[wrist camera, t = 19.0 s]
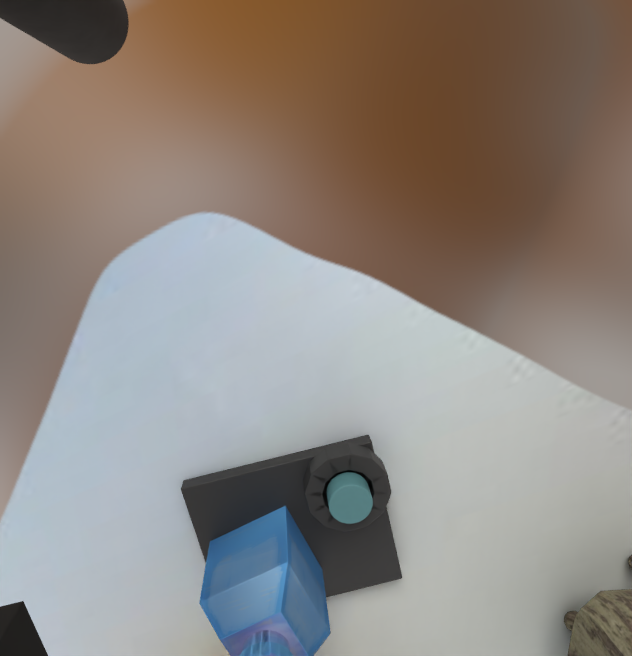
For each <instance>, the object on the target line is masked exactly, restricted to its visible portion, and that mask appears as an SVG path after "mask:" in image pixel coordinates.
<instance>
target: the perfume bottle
mask: <svg viewBox="0 0 632 656" xmlns="http://www.w3.org/2000/svg"><path fill="white" fill-rule="evenodd" d="M200 605H201V607H202V609H203V610H204V612H205V614H206V616H207V618H208V619H209V621H210V623H211V625H212V626H213V628H214V630H215V632H216V634H217V635H218V637H219V639H220V641H221V642H222V644H223V645H224V647H225V648H226V649H227V651H228V652H229V654H230V655H231V656H314V654H315V653H316V652H317V650H318V649H319V648H320V646H321V645H322V644H323V642H324V641H325V640H326V638H327V637H328V636H329V634H330V625H329V618H328V610H327V602H326V594H325V587H324V579H323V571H322V568H321V566H320V564H319V563H318V561H317V559H316V557H315V556H314V554H313V552H312V551H311V549H310V547H309V545H308V544H307V542H306V540H305V538H304V537H303V535H302V533H301V532H300V530H299V528H298V526H297V525H296V523H295V521H294V519H293V518H292V516H291V514H290V513H289V511H288V509H287V507H286V506H284V507H281V508H279V509H277V510H275V511H273V512H271V513H269V514H267V515H265V516H262V517H260V518H258V519H256V520H254V521H252V522H250V523H248V524H246V525H244V526H241V527H239V528H237V529H235V530H233V531H231V532H229V533H227V534H225V535H222V536H220V537H218V538H216V539H214V540H212V541H210V544H209V550H208V556H207V561H206V567H205V573H204V579H203V585H202V591H201V597H200Z"/></svg>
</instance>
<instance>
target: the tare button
mask: <svg viewBox="0 0 632 656" xmlns="http://www.w3.org/2000/svg"><path fill="white" fill-rule="evenodd" d="M326 494H327V500H328V506H329V510H330V513H331V515H332V516H333V517H334V518H335V519H336V520H338V521H339V522H342V523H346V524H353V523H357V522H360V521H362V520H363V519H365V518H366V517H367V516H368V515H369V513H370V512H371V509H372V506H373V499H372V496H371V492H370V489H369V486H368V483H367V481H366V480H365V479H364V478H363V477H362V476H361V475H359V474H357V473H353V472H345V473H341V474H339V475H337V476H335V477H334V478H333V479H332V480H331V481H330V483H329V484H328V487H327V491H326Z"/></svg>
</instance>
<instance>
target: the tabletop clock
mask: <svg viewBox="0 0 632 656" xmlns="http://www.w3.org/2000/svg"><path fill="white" fill-rule="evenodd" d="M628 562H629V566H630V568H631V569H632V555H631V556H630V558H629V560H628ZM564 622H565V625H566V627H567V628H568V629H569V630H571V631H572V634H571V640H570V645H569V651H568V656H632V589H629V590H612V591H600V592H599V593H598V594H597V595H596V596H595V597H593V598H592V599H591V600H590V601H589V602H588V603H587V604H586V605H585V606H583V607H582V608H581V609H580V611H579V612H577V611H570V612H567V614H566V615H565V618H564Z"/></svg>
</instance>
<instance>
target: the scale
mask: <svg viewBox="0 0 632 656" xmlns="http://www.w3.org/2000/svg"><path fill="white" fill-rule="evenodd" d="M345 472H353V473H357V474H359V475H361V476H362V477H363V478H364V479H365V480H366V481H367V483H368V486H369V489H370V492H371V496H372V499H373V506H372V509H371V512H370V513H369V515H368V516H367V517H366V518H365V519H363V520H362V521H360V522H357V523H353V524H346V523H342V522H339V521H338V520H336V519H335V518H334V517H333V516H332V515H331V513H330V510H329V506H328V500H327V494H326V491H327V487H328V484H329V483H330V481H331V480H332V479H333V478H334V477H335V476H337V475H339V474H341V473H345ZM181 491H182V494H183V497H184V500H185V503H186V505H187V508H188V511H189V514H190V517H191V520H192V523H193V526H194V529H195V532H196V535H197V538H198V541H199V544H200V547H201V550H202V553H203V556H204V559H205V562H206V561H207V556H208V550H209V544H210V541H212V540H214V539H216V538H218V537H220V536H222V535H225V534H227V533H229V532H231V531H233V530H235V529H237V528H239V527H241V526H244V525H246V524H248V523H250V522H252V521H254V520H256V519H258V518H260V517H262V516H265V515H267V514H269V513H271V512H273V511H275V510H277V509H279V508H281V507H284V506H286V507H287V509H288V511H289V513H290V514H291V516H292V518H293V519H294V521H295V523H296V525H297V526H298V528H299V530H300V532H301V533H302V535H303V537H304V538H305V540H306V542H307V544H308V545H309V547H310V549H311V551H312V552H313V554H314V556H315V557H316V559H317V561H318V563H319V564H320V566H321V568H322V571H323V579H324V587H325V594H326V597H329V596H333V595H337V594H341V593H345V592H349V591H353V590H357V589H361V588H365V587H369V586H373V585H377V584H381V583H385V582H389V581H393V580H397V579H401V578H402V574H401V570H400V565H399V561H398V557H397V552H396V548H395V543H394V539H393V534H392V530H391V526H390V521H389V517H388V512H387V508H386V506H387V503H388V500H389V498H390V495H391V489H390V484H389V480H388V475H387V472H386V470H385V467H384V464H383V462H382V460H381V459H380V458H378V457H377V456H376V455H375V454H374V450H373V446H372V442H371V439H370V437H369V435H365V436H361V437H357V438H353V439H349V440H345V441H341V442H337V443H333V444H329V445H325V446H321V447H317V448H313V449H309V450H305V451H301V452H297V453H293V454H289V455H285V456H281V457H277V458H273V459H269V460H265V461H261V462H257V463H253V464H248V465H244V466H240V467H236V468H232V469H228V470H224V471H220V472H216V473H212V474H208V475H204V476H200V477H196V478H192V479H188V480H184V481H183V484H182V487H181Z"/></svg>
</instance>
